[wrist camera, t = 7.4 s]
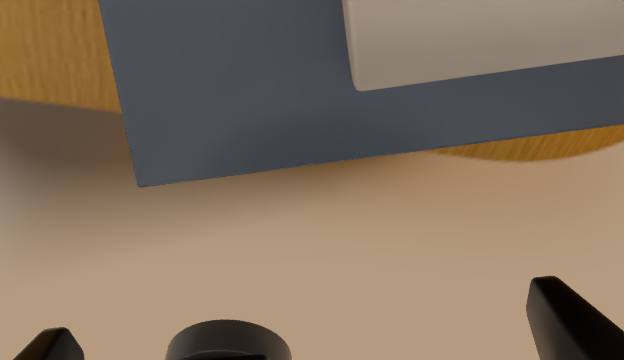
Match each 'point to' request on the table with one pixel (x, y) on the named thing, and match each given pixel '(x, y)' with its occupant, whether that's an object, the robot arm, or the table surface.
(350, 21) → the lid
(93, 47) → the table surface
